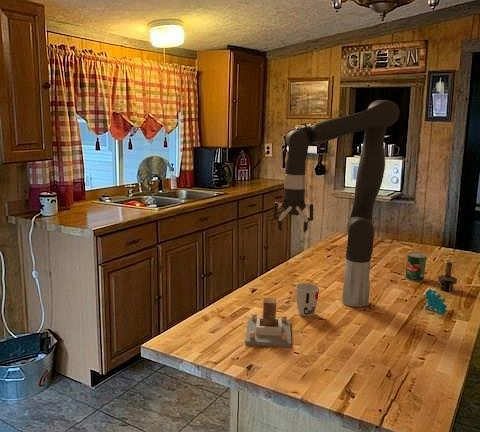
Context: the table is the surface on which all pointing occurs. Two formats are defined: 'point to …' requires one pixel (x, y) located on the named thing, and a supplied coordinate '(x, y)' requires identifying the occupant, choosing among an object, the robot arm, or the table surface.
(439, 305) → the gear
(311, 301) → the cup
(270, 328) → the housing plate
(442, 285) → the industrial component
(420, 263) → the canned tomato
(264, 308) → the brown block
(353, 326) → the table surface
